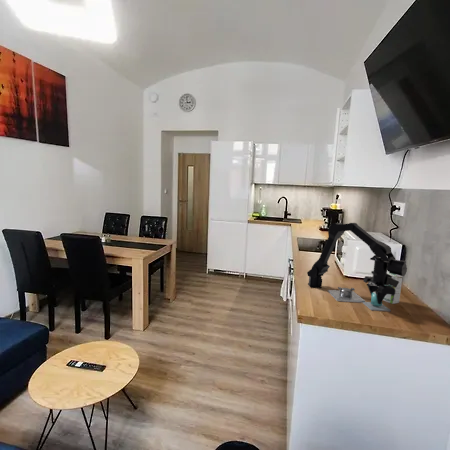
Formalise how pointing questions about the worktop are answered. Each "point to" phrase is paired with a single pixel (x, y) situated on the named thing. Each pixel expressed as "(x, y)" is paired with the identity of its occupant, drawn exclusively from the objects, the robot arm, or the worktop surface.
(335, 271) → the worktop surface
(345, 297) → the grey square plate
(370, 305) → the coaster
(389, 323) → the worktop surface
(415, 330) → the worktop surface
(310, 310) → the worktop surface
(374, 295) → the teal cylinder
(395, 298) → the syrup box
